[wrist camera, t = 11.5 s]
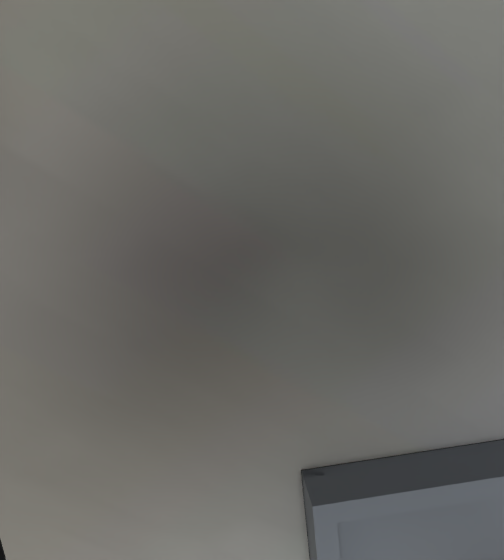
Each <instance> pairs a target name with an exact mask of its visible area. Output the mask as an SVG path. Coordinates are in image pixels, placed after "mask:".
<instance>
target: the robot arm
mask: <svg viewBox="0 0 504 560" xmlns="http://www.w3.org/2000/svg"><path fill="white" fill-rule="evenodd" d="M0 560H6V559H5V554H4V551H3V547H2V543H1V540H0Z"/></svg>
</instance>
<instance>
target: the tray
mask: <svg viewBox="0 0 504 560" xmlns="http://www.w3.org/2000/svg"><path fill="white" fill-rule="evenodd" d="M301 474H302V484H303V495H304V505H305V515H306V526H307V536H308V546H309V556H310V560H504V440H498V441H492V442H485V443H478V444H472V445H465V446H459V447H452V448H446V449H439V450H433V451H426V452H420V453H413V454H407V455H400V456H394V457H387V458H380V459H374V460H367V461H361V462H354V463H348V464H341V465H335V466H328V467H322V468H315V469H309V470H302V471H301Z"/></svg>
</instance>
